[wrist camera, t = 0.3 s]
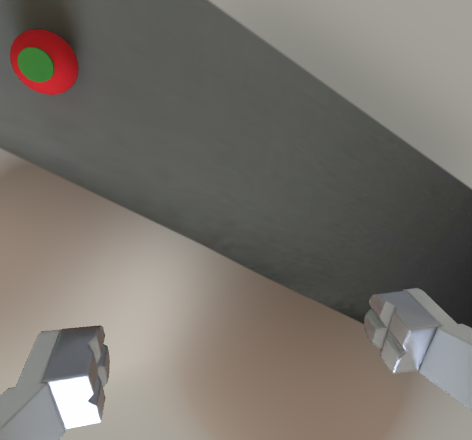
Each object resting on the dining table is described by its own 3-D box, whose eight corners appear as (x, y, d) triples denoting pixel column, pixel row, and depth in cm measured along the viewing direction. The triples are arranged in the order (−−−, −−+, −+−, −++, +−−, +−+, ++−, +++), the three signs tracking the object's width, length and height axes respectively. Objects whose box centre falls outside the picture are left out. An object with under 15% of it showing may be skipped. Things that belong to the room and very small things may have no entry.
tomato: (16, 28, 27) (-11, 26, 23) (78, 31, 28) (63, 30, 24) (30, 89, 30) (8, 98, 25) (87, 91, 31) (75, 99, 26)
